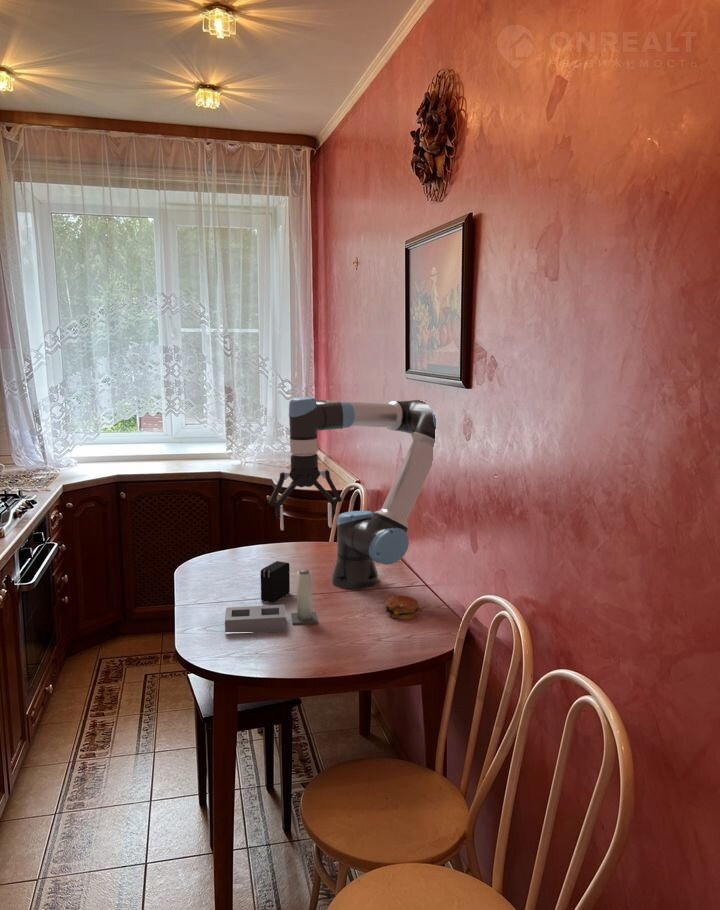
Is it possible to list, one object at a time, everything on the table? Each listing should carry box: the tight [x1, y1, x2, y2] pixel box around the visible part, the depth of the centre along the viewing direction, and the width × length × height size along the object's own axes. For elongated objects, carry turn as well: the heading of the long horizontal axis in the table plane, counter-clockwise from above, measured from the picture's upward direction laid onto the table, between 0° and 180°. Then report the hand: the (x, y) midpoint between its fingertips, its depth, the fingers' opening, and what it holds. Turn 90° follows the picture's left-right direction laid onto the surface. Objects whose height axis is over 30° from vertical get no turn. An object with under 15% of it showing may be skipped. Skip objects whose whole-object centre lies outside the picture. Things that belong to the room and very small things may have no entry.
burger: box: [385, 594, 421, 621], centre depth 194 cm, size 10×9×5 cm
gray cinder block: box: [224, 604, 287, 633], centre depth 185 cm, size 16×9×4 cm, turn 99°
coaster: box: [290, 611, 319, 626], centre depth 190 cm, size 7×7×1 cm
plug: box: [296, 568, 313, 620], centre depth 189 cm, size 4×4×14 cm
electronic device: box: [260, 560, 291, 604], centre depth 206 cm, size 4×10×10 cm, turn 155°
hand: (306, 527), depth 191 cm, fingers open, 13 cm apart
